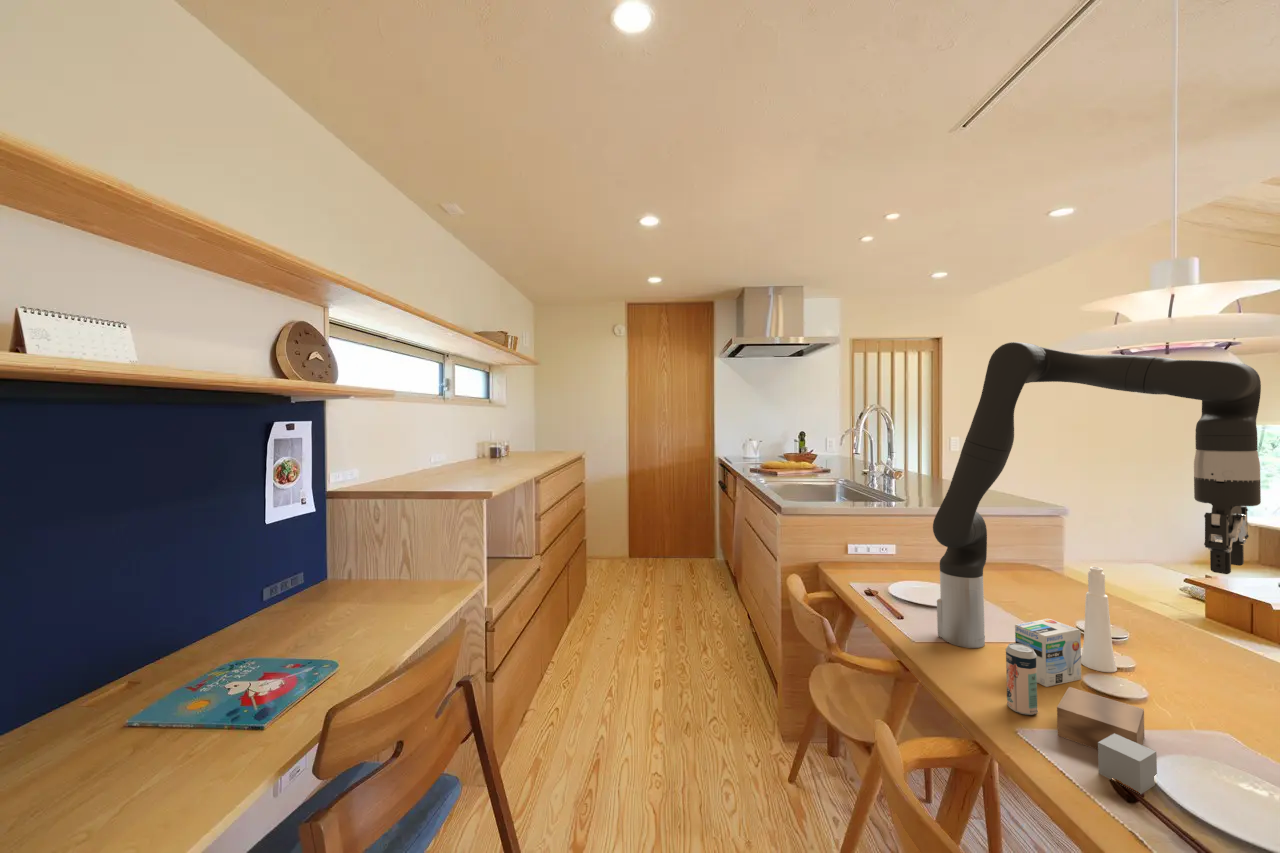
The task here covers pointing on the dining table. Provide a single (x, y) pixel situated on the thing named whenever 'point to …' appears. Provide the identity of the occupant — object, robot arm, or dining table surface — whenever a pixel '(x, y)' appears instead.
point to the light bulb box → (1052, 650)
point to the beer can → (1021, 679)
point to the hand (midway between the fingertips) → (1227, 568)
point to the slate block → (1127, 762)
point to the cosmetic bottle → (1097, 625)
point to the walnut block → (1097, 718)
